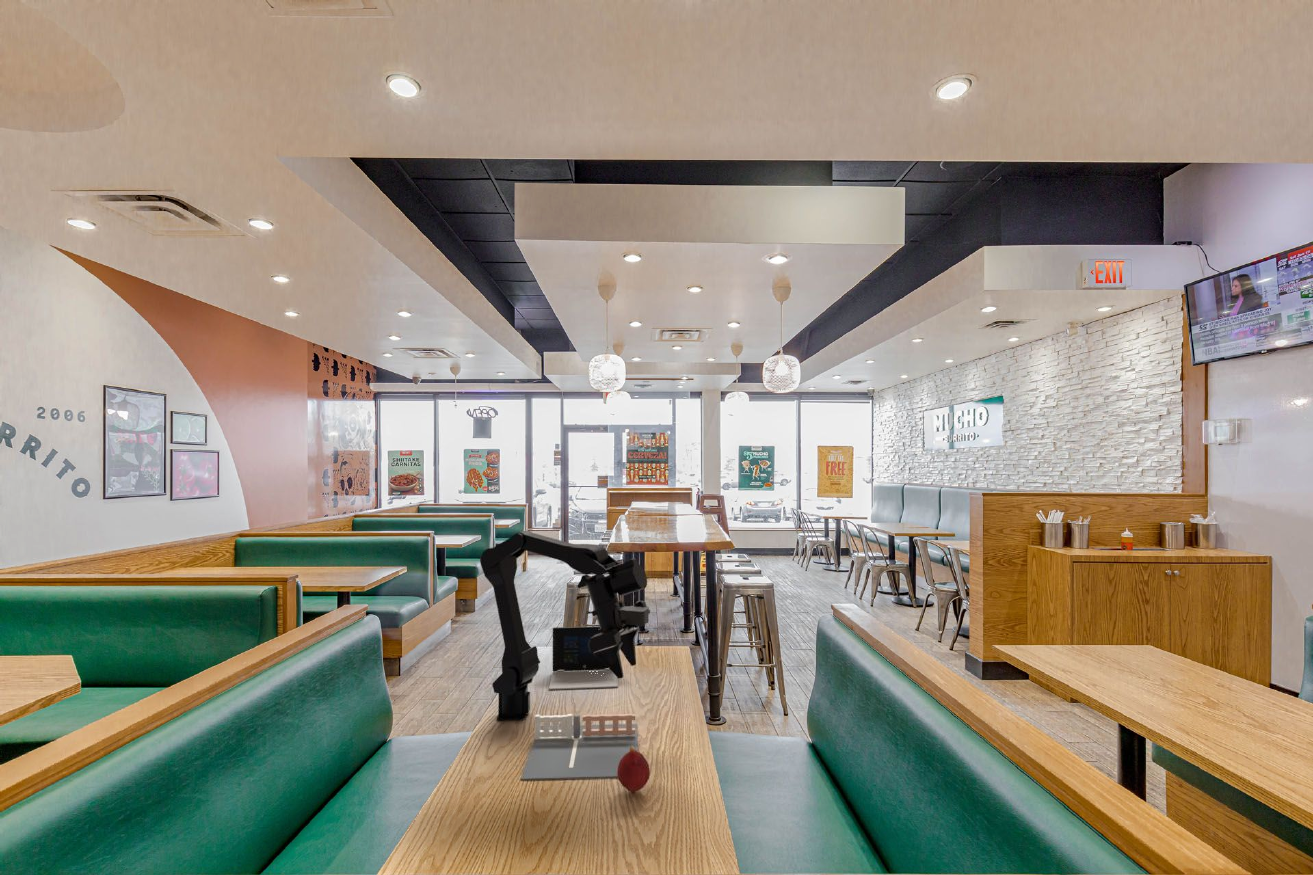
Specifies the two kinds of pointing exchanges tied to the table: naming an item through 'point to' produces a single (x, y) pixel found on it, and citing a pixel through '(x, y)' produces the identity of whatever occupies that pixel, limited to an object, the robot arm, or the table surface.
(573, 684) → the laptop
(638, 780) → the onion
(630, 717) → the fence gate
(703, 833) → the table surface
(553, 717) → the fence fixed
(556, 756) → the mat
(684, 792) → the table surface
